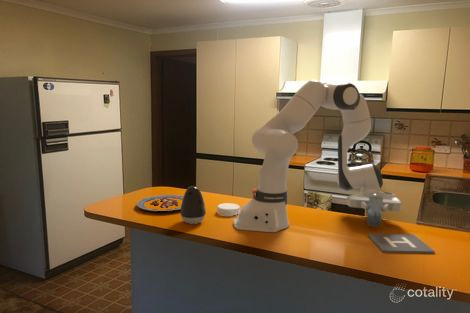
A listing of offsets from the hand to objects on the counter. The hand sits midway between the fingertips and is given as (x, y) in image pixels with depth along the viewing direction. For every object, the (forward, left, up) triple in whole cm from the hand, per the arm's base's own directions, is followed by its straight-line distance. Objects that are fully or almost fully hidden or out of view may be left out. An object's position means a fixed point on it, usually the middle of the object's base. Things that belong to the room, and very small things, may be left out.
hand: (375, 208), depth 140 cm
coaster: (-57, +19, -9) cm, 61 cm away
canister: (0, +1, -7) cm, 7 cm away
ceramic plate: (-87, +28, -9) cm, 92 cm away
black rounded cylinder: (-71, +6, -9) cm, 72 cm away
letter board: (+4, -14, -9) cm, 17 cm away
